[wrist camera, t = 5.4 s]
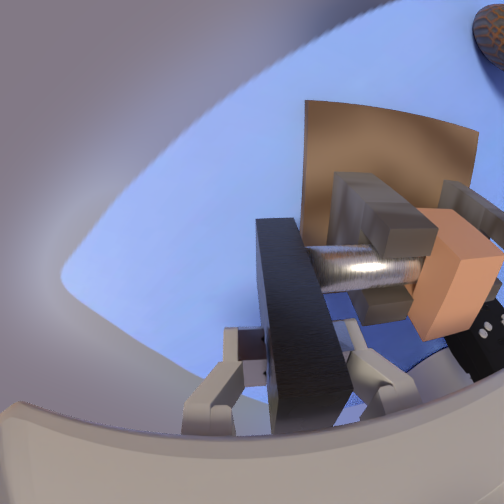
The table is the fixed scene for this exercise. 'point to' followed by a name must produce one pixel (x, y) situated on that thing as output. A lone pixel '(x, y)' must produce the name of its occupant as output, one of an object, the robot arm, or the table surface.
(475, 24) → the vase
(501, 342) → the handheld gaming console
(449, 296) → the block
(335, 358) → the shaft
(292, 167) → the table surface
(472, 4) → the table surface
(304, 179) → the shaft stand
